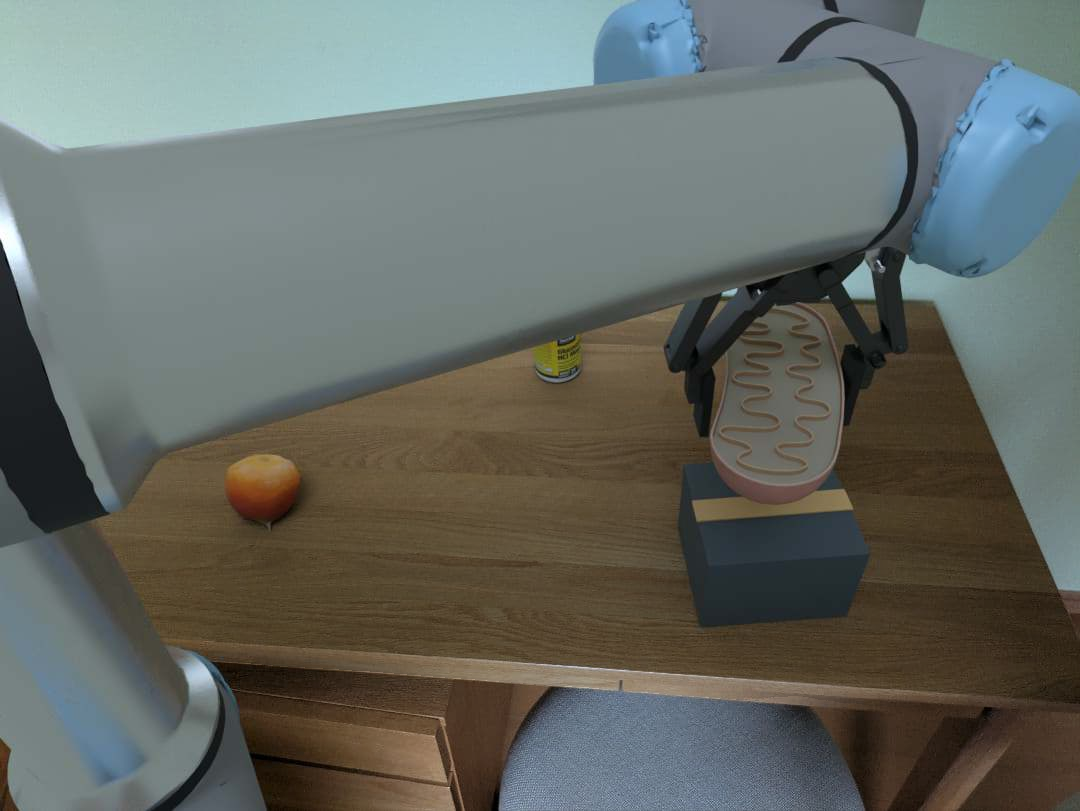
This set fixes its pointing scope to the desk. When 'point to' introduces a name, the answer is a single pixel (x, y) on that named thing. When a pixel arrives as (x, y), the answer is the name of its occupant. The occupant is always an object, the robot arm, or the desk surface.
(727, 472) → the anatomical model
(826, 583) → the dark blue box
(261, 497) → the fruit
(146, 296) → the robot arm
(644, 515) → the desk surface
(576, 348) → the pill bottle
